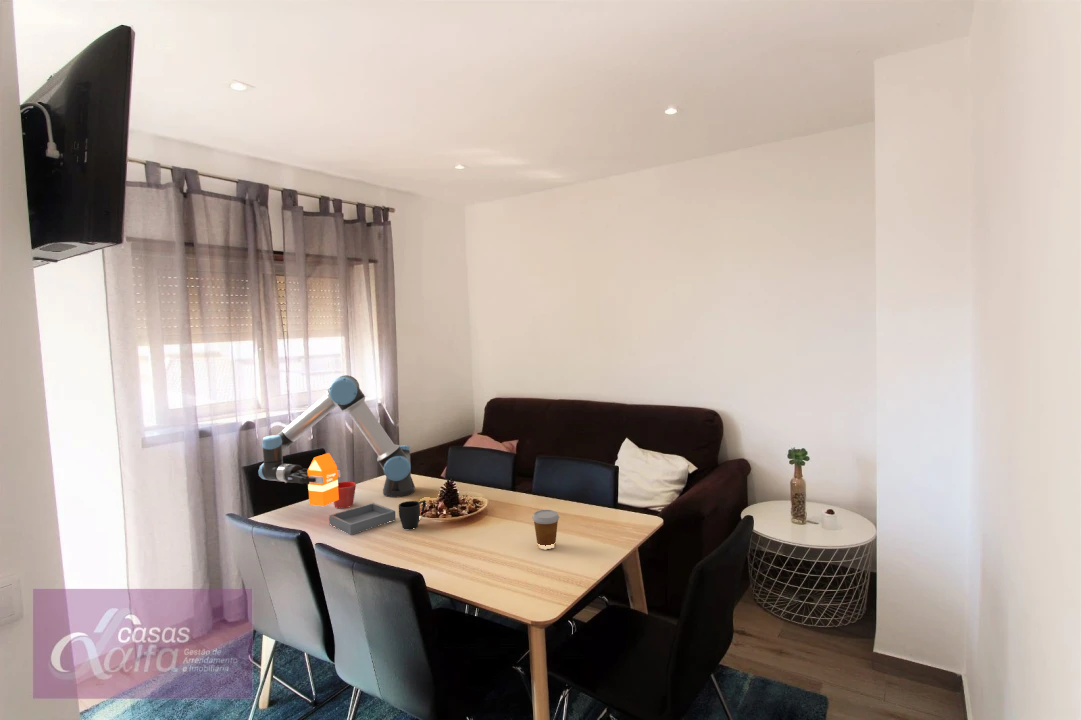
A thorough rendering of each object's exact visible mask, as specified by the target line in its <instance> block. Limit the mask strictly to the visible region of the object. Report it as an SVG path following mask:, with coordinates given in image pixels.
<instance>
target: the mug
mask: <svg viewBox="0 0 1081 720" xmlns="http://www.w3.org/2000/svg"><path fill="white" fill-rule="evenodd" d="M421 504H422V507H421ZM426 505H427V504H426V501H425V500H421V501H416V500H407V501H403V502H401V503H399V504H398V516H399V521H400V524H401V527H402V529H403V528H404V529H413V528H415V529H417V528H418V524H419V523H420V521H421V519H420V520H419V516H420V512H421V511H424V512H425V508H426ZM416 527H417V528H416ZM404 529H403V530H404ZM413 530H414V529H413Z"/></svg>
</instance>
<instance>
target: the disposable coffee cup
mask: <svg viewBox="0 0 1081 720" xmlns="http://www.w3.org/2000/svg"><path fill="white" fill-rule="evenodd" d="M559 519H560V516H559V513H558V512H557V511H556V510H552V509H540V510H536V511H534V513H533V516H532V520H533V523H534V529H535V537H536V543H538V544H540V545H545V546H546V545H551V544H554V543H555V542H557V533H558V525H559V523H558V521H559ZM555 544H556V543H555Z"/></svg>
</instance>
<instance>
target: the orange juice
mask: <svg viewBox="0 0 1081 720" xmlns="http://www.w3.org/2000/svg"><path fill="white" fill-rule="evenodd" d="M307 469H308V470H307V471H308V476H309V478H310V476H321V477H323V481H324V483H323V484H320V483H310V482H309V484H308V485H307V489H308V490H307V491H308V501H309V502H308V503H309V504H308V505H311V506H319V507H325V506H328V505H330V504H332V503H334V502H335V501H337V500H339V495H338V483H339V479H338V478H339V477H337V470H338V466H337V464H336V462H335V460H334V459H333V457H332V455H331V454H330V452H326V453H324V454H322V455H318V456H315V457H313V459H312V461H311V463H310V465H309V467H308V468H307Z"/></svg>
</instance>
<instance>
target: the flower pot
mask: <svg viewBox="0 0 1081 720" xmlns="http://www.w3.org/2000/svg"><path fill="white" fill-rule="evenodd" d="M356 487H357V485H356V482H355V481H354V482H353V481H341V482H338V495H339V500H337V501H335V502H333V505H334V508H336V507H337V508H336V509H346V508H345V507H347V508H350V507H352V506H353V505H354V500H355V494H356ZM349 506H350V507H349Z"/></svg>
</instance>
